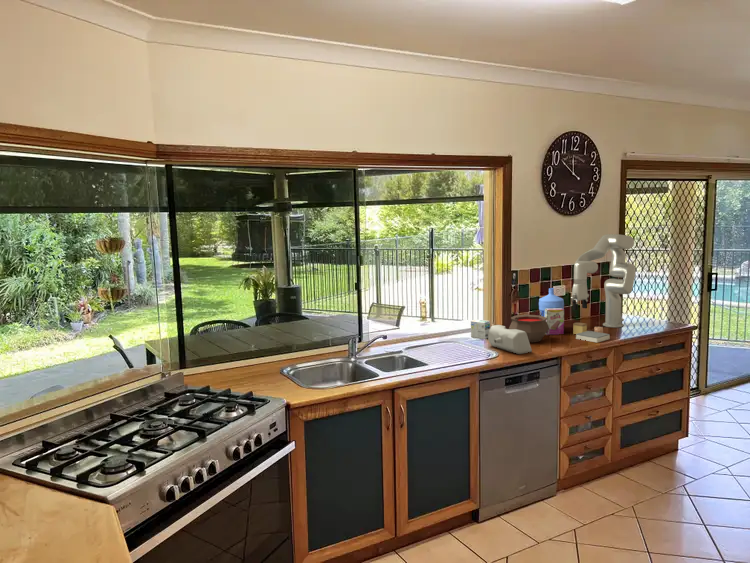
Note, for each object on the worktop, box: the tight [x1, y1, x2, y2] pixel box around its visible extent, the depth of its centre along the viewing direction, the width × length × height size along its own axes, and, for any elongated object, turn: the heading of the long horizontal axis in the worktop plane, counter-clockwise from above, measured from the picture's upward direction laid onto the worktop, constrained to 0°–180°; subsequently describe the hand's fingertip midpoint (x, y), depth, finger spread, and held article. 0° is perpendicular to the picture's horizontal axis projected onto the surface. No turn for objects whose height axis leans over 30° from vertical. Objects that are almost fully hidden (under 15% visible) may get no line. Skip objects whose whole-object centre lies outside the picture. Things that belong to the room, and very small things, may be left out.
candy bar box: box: [545, 308, 565, 336], centre depth 336 cm, size 11×5×16 cm, turn 88°
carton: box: [572, 322, 588, 335], centre depth 333 cm, size 5×7×7 cm
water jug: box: [538, 287, 565, 317], centre depth 346 cm, size 16×16×28 cm
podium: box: [575, 330, 611, 343], centre depth 321 cm, size 13×14×3 cm
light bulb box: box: [470, 319, 491, 340], centre depth 336 cm, size 11×7×11 cm, turn 47°
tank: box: [487, 324, 533, 355], centre depth 303 cm, size 25×16×12 cm, turn 26°
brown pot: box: [508, 311, 549, 343], centre depth 325 cm, size 24×24×16 cm
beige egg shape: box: [593, 326, 604, 333], centre depth 329 cm, size 5×5×5 cm
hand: (579, 309), depth 332 cm, fingers open, 9 cm apart
